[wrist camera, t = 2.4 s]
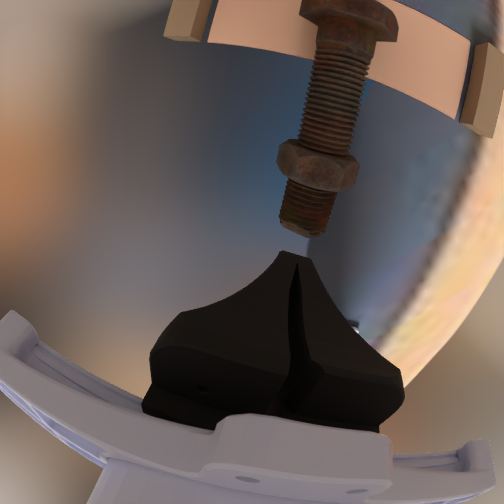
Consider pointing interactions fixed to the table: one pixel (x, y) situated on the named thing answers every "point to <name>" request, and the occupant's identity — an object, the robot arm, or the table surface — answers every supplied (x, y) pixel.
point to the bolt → (330, 109)
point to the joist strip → (385, 56)
